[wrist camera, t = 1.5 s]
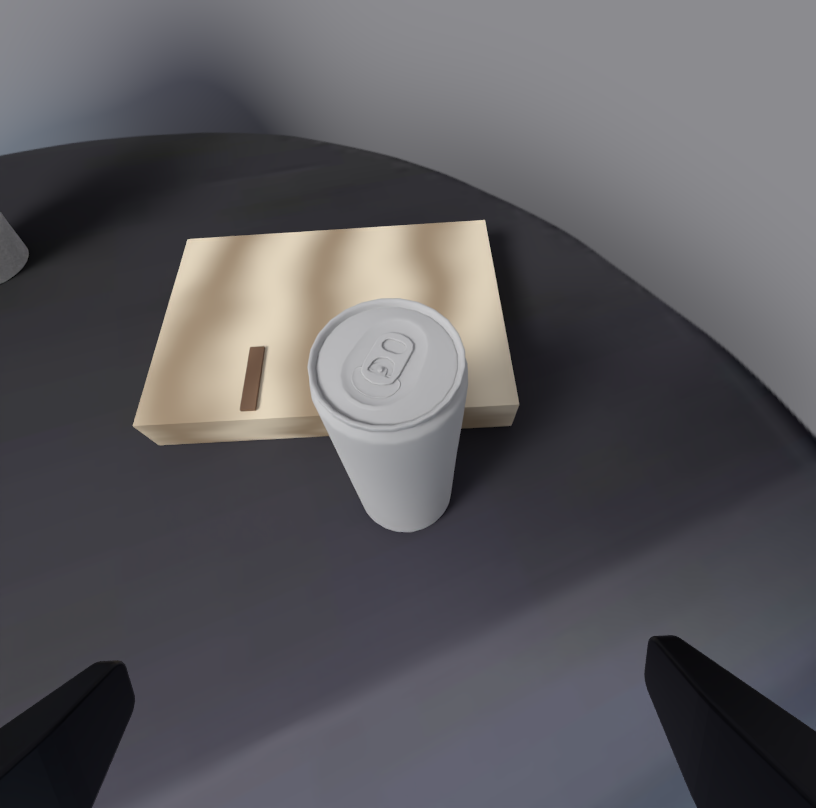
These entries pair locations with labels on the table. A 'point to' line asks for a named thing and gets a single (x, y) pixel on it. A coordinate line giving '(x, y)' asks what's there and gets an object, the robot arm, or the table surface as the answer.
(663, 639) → the robot arm
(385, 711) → the table surface
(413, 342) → the beverage can
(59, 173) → the table surface
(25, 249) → the house plant
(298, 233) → the chopping board
